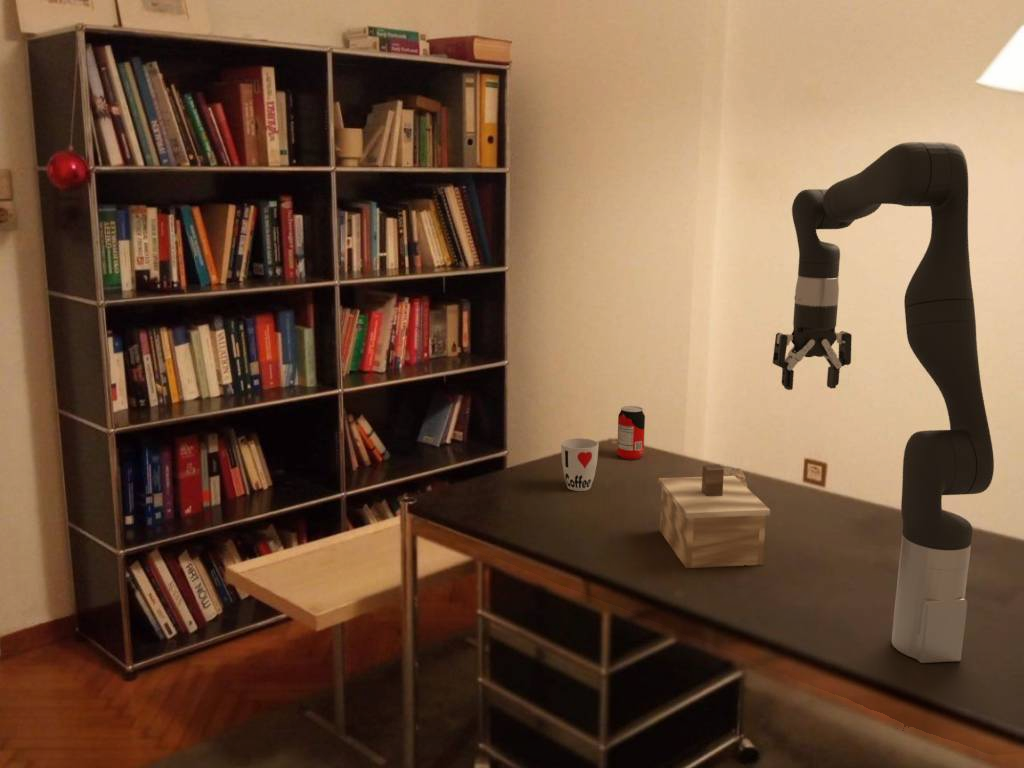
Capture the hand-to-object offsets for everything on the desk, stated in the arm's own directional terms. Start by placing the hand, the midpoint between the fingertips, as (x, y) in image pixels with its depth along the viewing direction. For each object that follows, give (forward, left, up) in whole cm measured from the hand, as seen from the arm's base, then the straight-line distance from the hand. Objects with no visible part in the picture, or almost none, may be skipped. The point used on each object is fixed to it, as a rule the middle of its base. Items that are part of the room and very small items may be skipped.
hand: (809, 388), depth 184 cm
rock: (+27, +5, -29) cm, 40 cm away
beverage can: (+53, +21, -29) cm, 64 cm away
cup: (+32, +37, -29) cm, 57 cm away
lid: (-4, +19, -20) cm, 27 cm away
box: (-4, +19, -29) cm, 35 cm away
